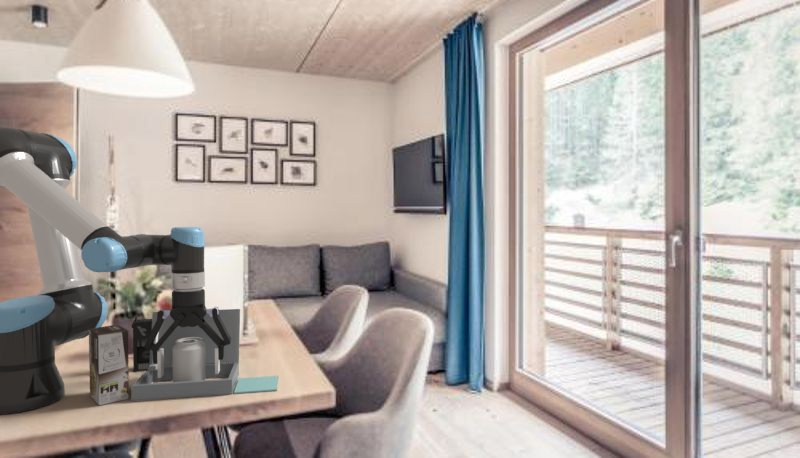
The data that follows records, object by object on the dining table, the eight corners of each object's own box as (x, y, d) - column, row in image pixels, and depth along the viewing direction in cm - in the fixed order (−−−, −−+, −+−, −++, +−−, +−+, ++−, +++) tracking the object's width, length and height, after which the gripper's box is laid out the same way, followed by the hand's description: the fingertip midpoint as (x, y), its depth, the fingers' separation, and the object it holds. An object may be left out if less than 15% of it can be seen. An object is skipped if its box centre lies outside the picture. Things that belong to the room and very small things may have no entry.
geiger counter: (175, 363, 137) (174, 311, 137) (173, 368, 133) (173, 314, 133) (134, 367, 134) (133, 314, 133) (131, 372, 129) (130, 317, 129)
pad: (234, 393, 114) (234, 392, 114) (239, 379, 124) (239, 378, 124) (276, 390, 116) (277, 389, 116) (278, 377, 126) (278, 375, 126)
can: (205, 380, 123) (205, 334, 123) (205, 390, 116) (204, 341, 116) (174, 383, 121) (173, 337, 120) (171, 394, 114) (170, 344, 113)
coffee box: (130, 398, 111) (129, 330, 110) (98, 406, 106) (97, 335, 106) (119, 388, 118) (118, 323, 117) (89, 395, 113) (88, 327, 112)
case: (131, 401, 109) (130, 327, 109) (154, 375, 127) (153, 311, 126) (231, 394, 114) (231, 323, 114) (240, 369, 132) (240, 308, 131)
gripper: (128, 293, 111) (130, 383, 112) (238, 289, 117) (239, 375, 117) (139, 288, 119) (140, 372, 119) (242, 285, 124) (242, 366, 125)
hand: (189, 374), depth 118 cm, fingers open, 12 cm apart
